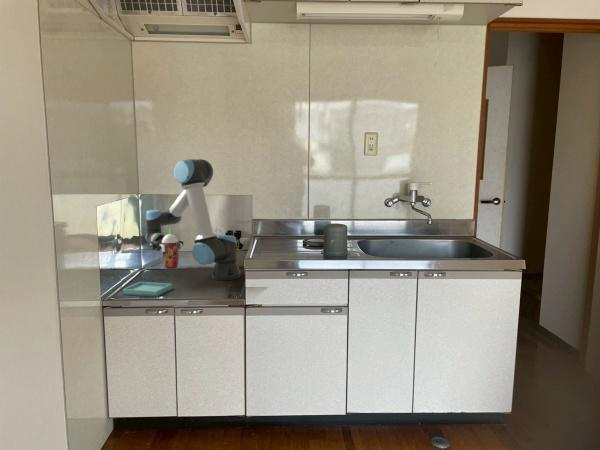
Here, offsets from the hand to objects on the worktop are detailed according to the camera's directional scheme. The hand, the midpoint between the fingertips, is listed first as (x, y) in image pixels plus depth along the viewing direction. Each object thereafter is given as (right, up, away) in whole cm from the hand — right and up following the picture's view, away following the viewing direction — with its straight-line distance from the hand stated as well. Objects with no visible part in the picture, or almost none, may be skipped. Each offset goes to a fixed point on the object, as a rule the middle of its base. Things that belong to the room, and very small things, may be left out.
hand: (173, 247), depth 225 cm
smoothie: (-2, -10, +5) cm, 12 cm away
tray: (-11, -21, -3) cm, 24 cm away
